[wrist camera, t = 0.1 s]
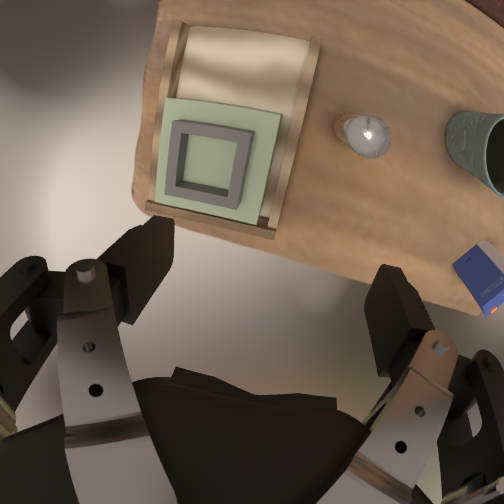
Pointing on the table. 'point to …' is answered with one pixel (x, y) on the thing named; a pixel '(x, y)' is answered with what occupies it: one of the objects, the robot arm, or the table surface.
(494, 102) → the table surface
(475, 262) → the walkman
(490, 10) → the notebook
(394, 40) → the table surface
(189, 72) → the bay
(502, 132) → the teal cup
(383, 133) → the handle
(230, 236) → the table surface
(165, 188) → the green stepped block
